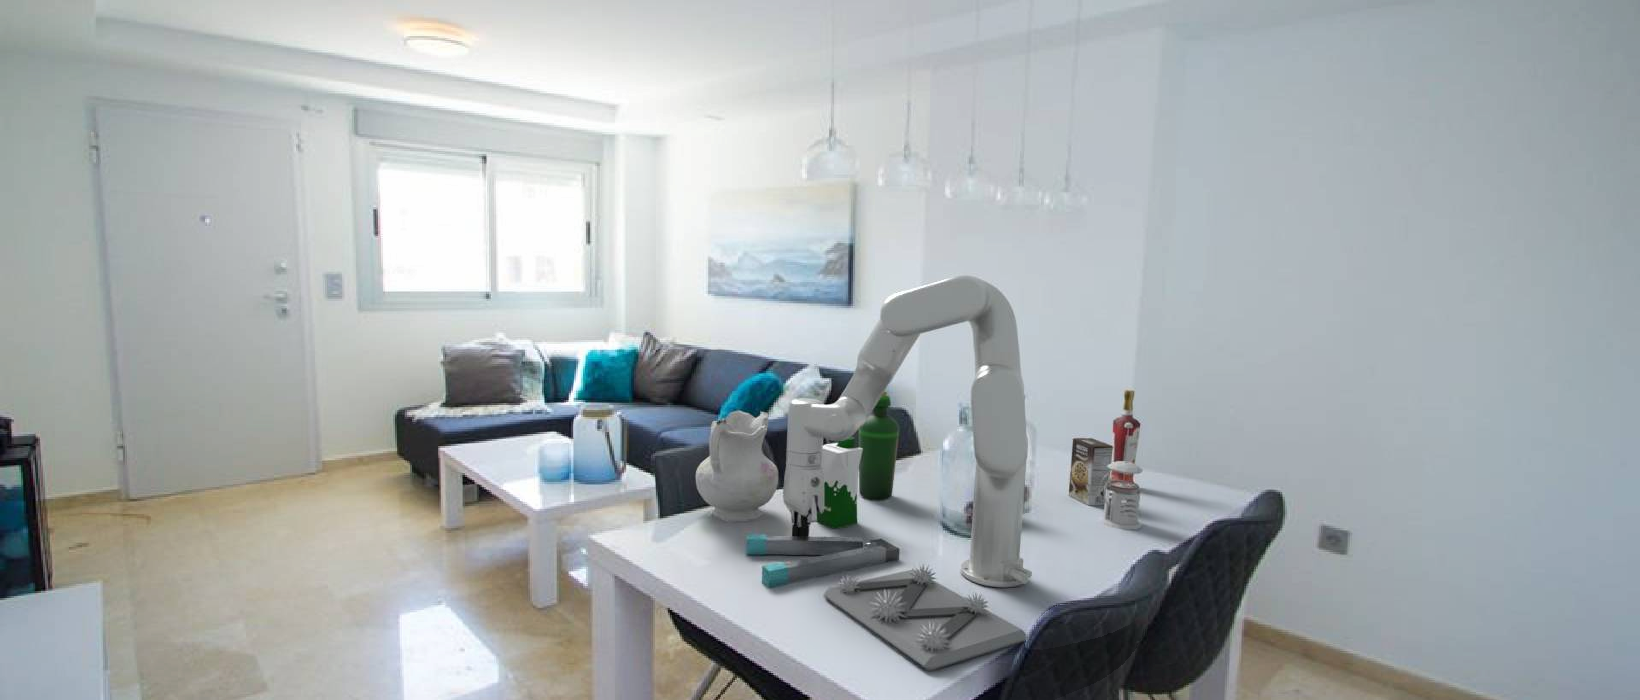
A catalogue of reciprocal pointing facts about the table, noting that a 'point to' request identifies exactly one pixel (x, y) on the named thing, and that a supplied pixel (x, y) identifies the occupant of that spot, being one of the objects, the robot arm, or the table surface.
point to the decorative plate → (924, 617)
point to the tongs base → (828, 564)
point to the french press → (1122, 496)
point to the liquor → (1125, 437)
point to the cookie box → (1089, 470)
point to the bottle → (878, 452)
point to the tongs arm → (803, 544)
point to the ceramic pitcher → (737, 468)
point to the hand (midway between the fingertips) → (800, 542)
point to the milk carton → (840, 483)
